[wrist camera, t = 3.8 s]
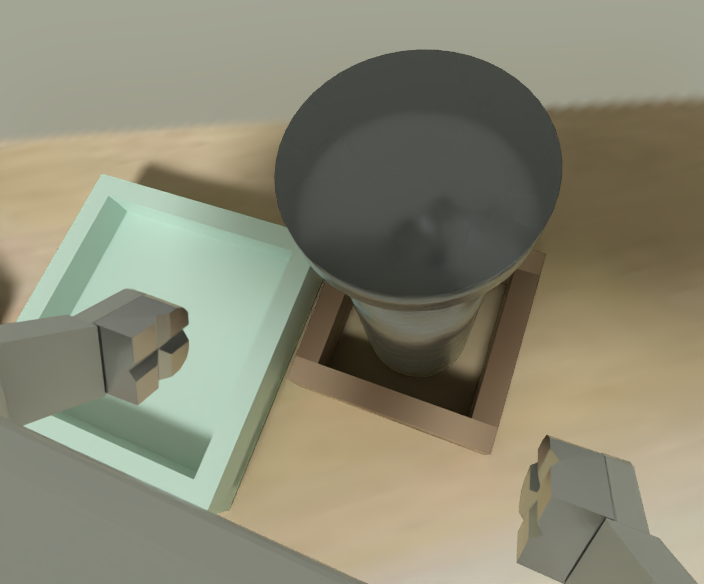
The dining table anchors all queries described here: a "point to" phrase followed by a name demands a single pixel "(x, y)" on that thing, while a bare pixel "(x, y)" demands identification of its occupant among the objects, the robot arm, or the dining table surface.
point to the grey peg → (418, 194)
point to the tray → (203, 331)
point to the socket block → (407, 410)
